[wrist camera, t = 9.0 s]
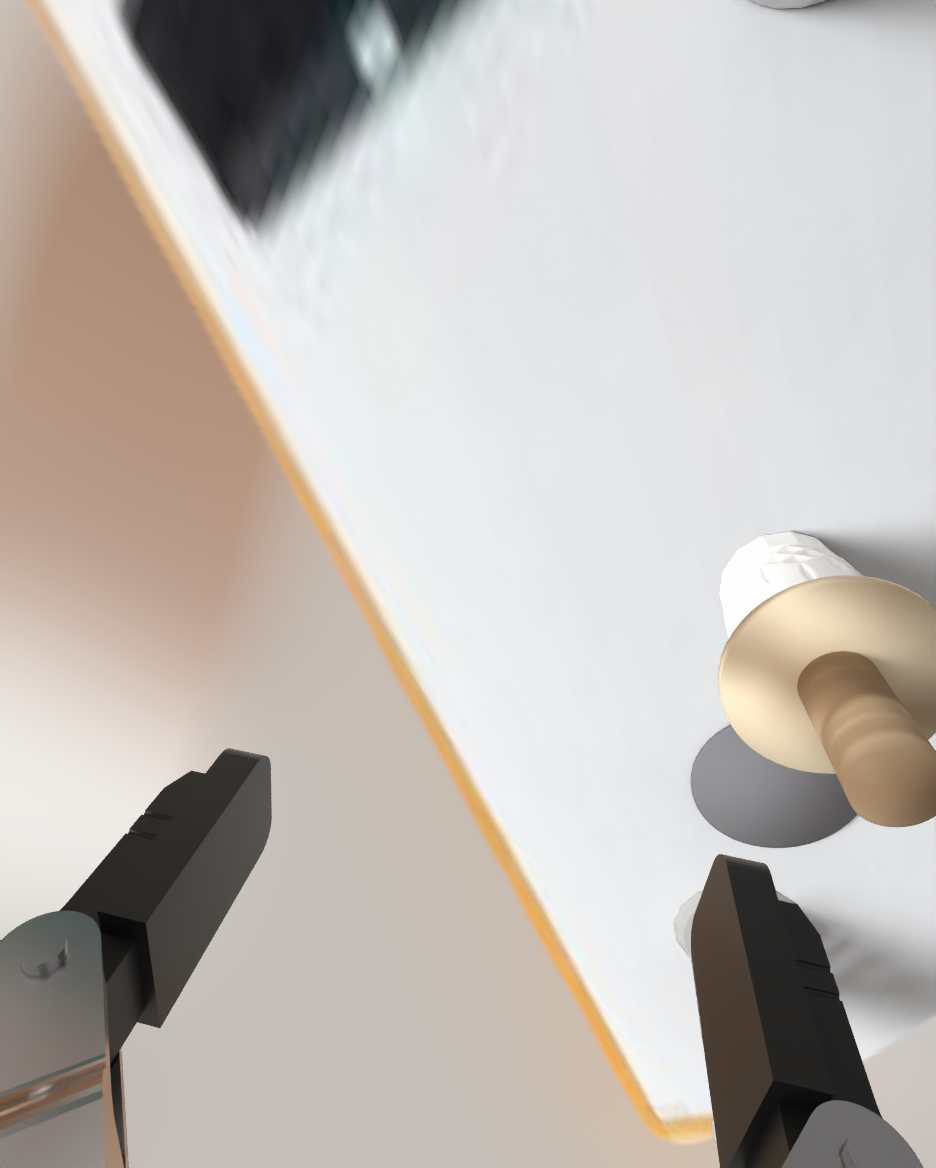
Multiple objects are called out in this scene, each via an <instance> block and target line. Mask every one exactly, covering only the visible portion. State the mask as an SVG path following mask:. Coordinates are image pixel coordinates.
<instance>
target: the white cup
mask: <svg viewBox="0 0 936 1168" xmlns="http://www.w3.org/2000/svg"><path fill="white" fill-rule="evenodd" d="M837 575H859V576H862V575H861V574H860V573H859V572H858V571H857V570H856V569H855V568H853V567H852V566H851V565H850V564H849V563H848V562H847V561H845V560H844V559H843V558H841V557H839V556H837V555H836V554H835V553H834V552H832V551H831V550H830V549H829V548H828V547H827V546H825V545H824V544H823V543H822V542H821V541H820V540H818V539H817V538H815V537H811V536H807V535H803V534H799V533H795V532H791V531H788V532H782V533H776V534H769V535H763V536H760V537H759V538H757V539H755V540H754V541H752V542H750V543H749V544H747V545H745V546H744V547H742V548H740V549H739V550H737V552H736V553H735V555H734V556H733V557H732V559H731V560H730V562H729V563H728V564H727V566H726V567H725V569H724V570H723V573H722V580H721V587H720V598H721V602H722V605H723V609H724V621H725V625H726V630H727V634H728V639H729V638H730V636H731V634H732V632H733V631H734V630H735V628H736V627H737V626H738V625H739V623H740V622H741V621H742V620H743V619H744V618H745V617H746V616H747V615H748V614H749V613H750V612H751V611H752V610H753V609H754V608H756V607H757V606H758V605H759V604H761V603H762V602H763V601H765V600H766V599H768V598H770V597H771V596H773V595H774V594H776V593H778V592H780V591H782V590H784V589H786V588H789V587H791V586H794V585H796V584H799V583H802V582H805V581H809V580H813V579H817V578H822V577H829V576H837Z"/></svg>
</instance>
